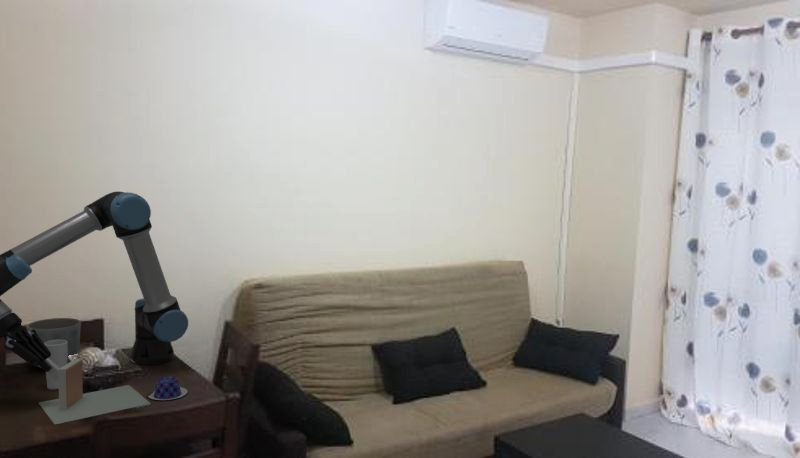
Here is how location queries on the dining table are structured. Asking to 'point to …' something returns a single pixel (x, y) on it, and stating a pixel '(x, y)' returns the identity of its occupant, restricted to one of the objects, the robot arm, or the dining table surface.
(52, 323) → the planter
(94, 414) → the rubber mat
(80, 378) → the ceramic tile
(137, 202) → the robot arm
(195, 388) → the dining table surface
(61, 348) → the drinking glass
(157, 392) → the pudding
